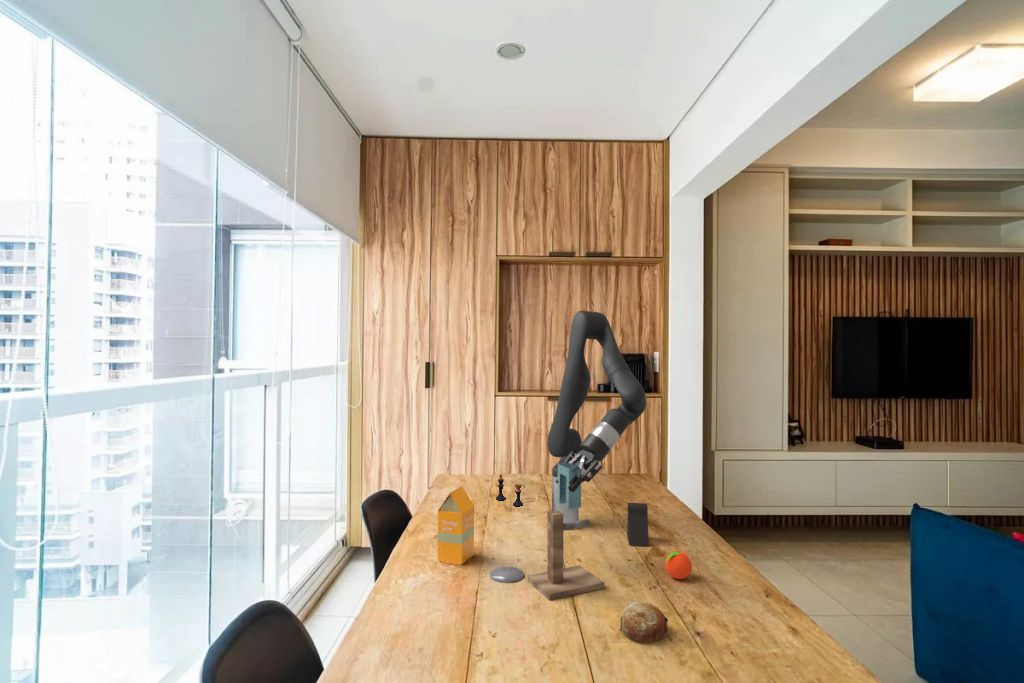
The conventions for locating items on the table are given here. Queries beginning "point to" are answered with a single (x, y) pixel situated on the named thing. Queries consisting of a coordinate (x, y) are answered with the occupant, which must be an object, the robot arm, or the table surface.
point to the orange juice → (456, 528)
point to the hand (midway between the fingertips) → (564, 486)
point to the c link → (564, 479)
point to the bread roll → (643, 622)
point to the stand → (557, 578)
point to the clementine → (678, 565)
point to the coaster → (506, 574)
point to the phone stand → (637, 524)
